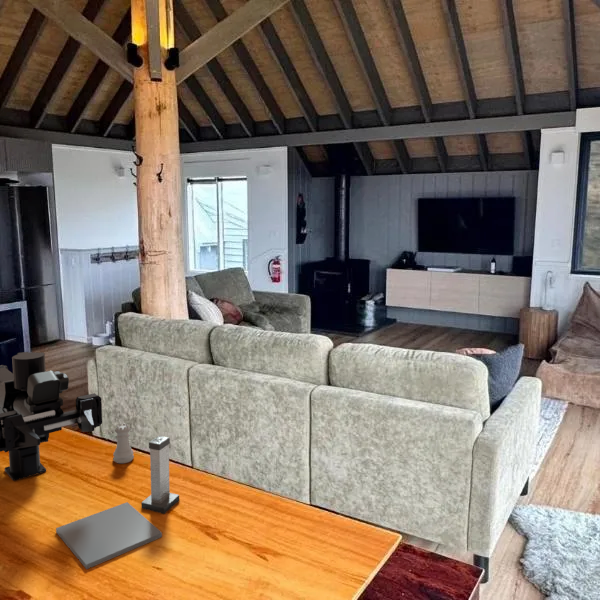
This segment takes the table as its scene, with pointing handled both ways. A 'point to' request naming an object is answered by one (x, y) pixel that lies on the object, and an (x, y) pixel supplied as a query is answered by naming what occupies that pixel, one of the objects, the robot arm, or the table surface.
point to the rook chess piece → (123, 445)
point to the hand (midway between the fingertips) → (67, 435)
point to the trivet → (107, 534)
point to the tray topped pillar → (160, 477)
